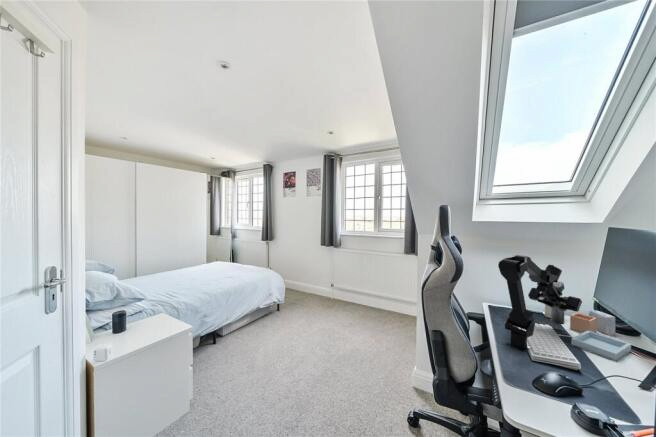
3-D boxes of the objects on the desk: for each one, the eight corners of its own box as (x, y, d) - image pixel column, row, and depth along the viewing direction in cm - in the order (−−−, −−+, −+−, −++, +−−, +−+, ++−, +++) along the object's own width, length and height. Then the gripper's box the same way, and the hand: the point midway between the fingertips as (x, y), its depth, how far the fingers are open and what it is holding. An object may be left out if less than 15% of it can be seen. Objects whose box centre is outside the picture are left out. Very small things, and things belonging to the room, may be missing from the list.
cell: (561, 325, 116) (562, 300, 116) (548, 321, 121) (549, 297, 120) (566, 323, 118) (566, 299, 118) (553, 319, 123) (554, 295, 123)
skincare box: (553, 319, 131) (553, 297, 130) (544, 316, 135) (544, 294, 135) (561, 318, 133) (562, 296, 132) (552, 315, 137) (552, 293, 136)
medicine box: (615, 335, 114) (616, 317, 114) (606, 335, 114) (606, 317, 114) (597, 327, 122) (597, 310, 122) (588, 327, 122) (588, 310, 122)
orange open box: (589, 335, 114) (590, 320, 114) (570, 329, 120) (570, 315, 120) (596, 332, 117) (596, 318, 117) (576, 326, 123) (576, 312, 123)
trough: (615, 361, 94) (616, 353, 94) (571, 344, 106) (571, 338, 106) (630, 351, 101) (631, 344, 101) (587, 336, 113) (587, 330, 113)
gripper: (580, 281, 109) (590, 301, 114) (531, 272, 126) (542, 290, 131) (572, 301, 106) (582, 321, 111) (522, 289, 123) (534, 306, 128)
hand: (559, 308), depth 120 cm, fingers closed on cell, 5 cm apart
